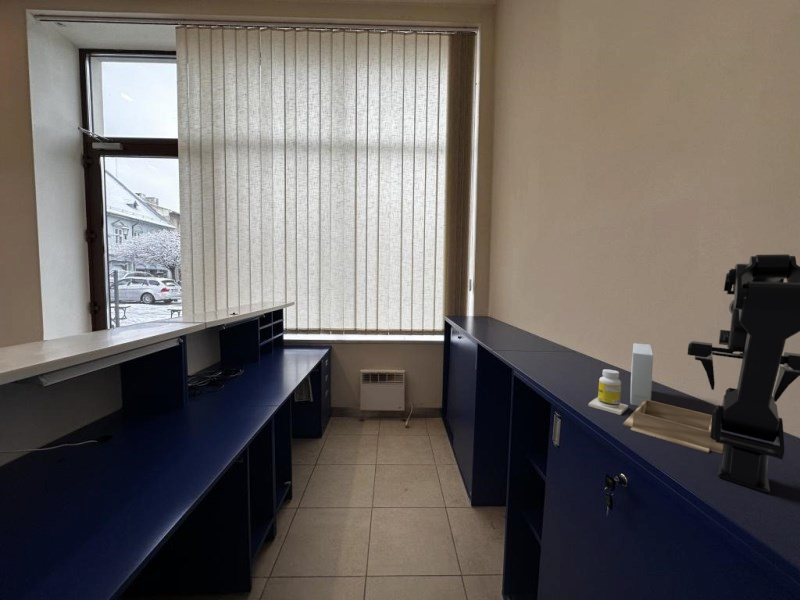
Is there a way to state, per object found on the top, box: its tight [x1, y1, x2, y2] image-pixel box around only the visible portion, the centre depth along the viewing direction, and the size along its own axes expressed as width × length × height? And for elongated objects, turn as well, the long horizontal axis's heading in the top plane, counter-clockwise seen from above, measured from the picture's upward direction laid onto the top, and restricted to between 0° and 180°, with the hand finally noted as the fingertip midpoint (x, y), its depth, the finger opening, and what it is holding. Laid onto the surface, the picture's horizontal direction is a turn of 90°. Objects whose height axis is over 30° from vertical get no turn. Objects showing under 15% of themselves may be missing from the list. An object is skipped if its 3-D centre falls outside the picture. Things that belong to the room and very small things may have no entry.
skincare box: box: [629, 342, 654, 407], centre depth 105 cm, size 21×6×16 cm, turn 144°
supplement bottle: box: [597, 368, 622, 407], centre depth 95 cm, size 5×5×10 cm
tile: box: [587, 396, 629, 416], centre depth 95 cm, size 8×8×1 cm
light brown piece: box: [622, 399, 724, 455], centre depth 81 cm, size 18×18×4 cm
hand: (742, 395), depth 71 cm, fingers open, 9 cm apart
